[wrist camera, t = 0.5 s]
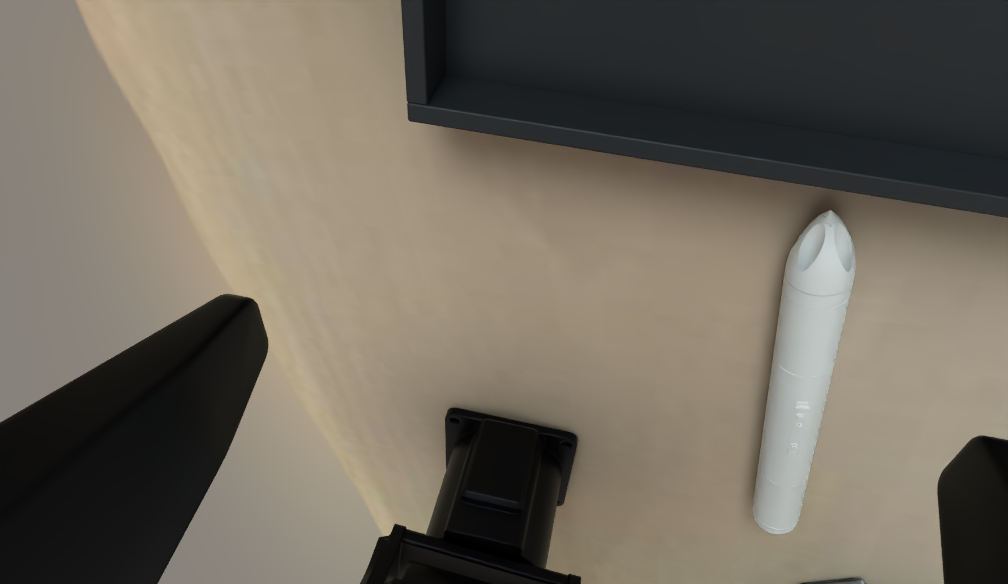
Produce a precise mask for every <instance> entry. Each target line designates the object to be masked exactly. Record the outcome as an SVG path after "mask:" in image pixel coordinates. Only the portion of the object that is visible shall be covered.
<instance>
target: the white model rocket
mask: <svg viewBox="0 0 1008 584" xmlns="http://www.w3.org/2000/svg"><path fill="white" fill-rule="evenodd" d="M855 269H856V257H855V249H854V244H853V241H852V238H851V236H850V234H849V232H848V230H847V228H846V227H845V225H844V223H843V222H842V220H841V219H840V217H839V216H838V215H837V214H835V213H834V212H833V211H831V210H829V211H827V212H825V213H822V214H821V215H819V216H817V217H816V218H815V219H814V220H813V221H812V222H811V223H810V224H809V225H808V226H807V227H806V229H805V230H804V231H803V232H802V233H801V235H800V236H799V237H798V239H797V240H796V242H795V244H794V245H793V247H792V249H791V250H790V253H789V256H788V259H787V262H786V267H785V273H784V281H783V286H782V287H783V289H782V296H781V303H780V310H779V318H778V325H777V332H776V339H775V347H774V354H773V361H772V369H771V376H770V383H769V390H768V398H767V405H766V412H765V420H764V427H763V434H762V442H761V449H760V456H759V463H758V471H757V478H756V485H755V493H754V500H753V514H754V519H755V521H756V523H757V524H758V525H759V526H760V527H761V528H762V529H763V530H765V531H767V532H769V533H772V534H777V535H782V534H786V533H789V532H790V531H792V530H793V529H794V528H795V526H796V524H797V522H798V520H799V518H800V512H801V508H802V504H803V499H804V495H805V491H806V486H807V482H808V477H809V473H810V469H811V464H812V460H813V456H814V451H815V447H816V443H817V438H818V434H819V430H820V425H821V421H822V417H823V412H824V408H825V403H826V399H827V395H828V390H829V386H830V382H831V377H832V373H833V369H834V364H835V360H836V356H837V351H838V347H839V343H840V338H841V334H842V329H843V325H844V321H845V316H846V312H847V308H848V303H849V299H850V296H851V290H852V286H853V282H854V277H855Z"/></svg>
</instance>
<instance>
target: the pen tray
mask: <svg viewBox="0 0 1008 584" xmlns="http://www.w3.org/2000/svg"><path fill="white" fill-rule="evenodd" d="M401 6H402V23H403V40H404V57H405V75H406V92H407V102H408V104H407V107H408V120H409V121H412V122H418V123H424V124H431V125H437V126H443V127H449V128H455V129H462V130H468V131H474V132H480V133H486V134H493V135H499V136H505V137H511V138H517V139H524V140H530V141H536V142H542V143H548V144H555V145H561V146H567V147H573V148H579V149H586V150H592V151H598V152H604V153H610V154H617V155H623V156H629V157H635V158H641V159H648V160H654V161H660V162H666V163H672V164H679V165H685V166H691V167H697V168H703V169H710V170H716V171H722V172H728V173H734V174H741V175H747V176H753V177H759V178H765V179H772V180H778V181H784V182H790V183H796V184H803V185H809V186H815V187H821V188H827V189H834V190H840V191H846V192H852V193H858V194H865V195H871V196H877V197H883V198H889V199H896V200H902V201H908V202H914V203H920V204H927V205H933V206H939V207H945V208H951V209H958V210H964V211H970V212H976V213H982V214H989V215H995V216H1001V217H1007V218H1008V0H401Z"/></svg>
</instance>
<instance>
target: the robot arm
mask: <svg viewBox="0 0 1008 584" xmlns="http://www.w3.org/2000/svg"><path fill="white" fill-rule="evenodd" d="M267 352H268V337H267V334H266V331H265V327H264V324H263V321H262V317H261V314H260V310H259V307H258V305H257V303H256V302H255V301H254V300H253V299H251V298H248V297H243V296H238V295H232V294H223V295H220V296H218V297H216V298H215V299H213V300H211V301H209V302H208V303H206V304H204V305H203V306H201V307H199V308H197V309H196V310H194V311H192V312H190V313H189V314H187V315H185V316H183V317H182V318H180V319H178V320H177V321H175V322H173V323H171V324H170V325H168V326H166V327H164V328H163V329H161V330H159V331H158V332H156V333H154V334H152V335H151V336H149V337H147V338H146V339H144V340H142V341H140V342H139V343H137V344H135V345H134V346H132V347H130V348H128V349H126V350H125V351H123V352H121V353H120V354H118V355H116V356H115V357H113V358H111V359H109V360H107V361H106V362H104V363H102V364H101V365H99V366H97V367H96V368H94V369H92V370H90V371H88V372H87V373H85V374H83V375H82V376H80V377H78V378H77V379H75V380H73V381H71V382H69V383H68V384H66V385H64V386H63V387H61V388H59V389H58V390H56V391H54V392H52V393H50V394H49V395H47V396H45V397H44V398H42V399H40V400H38V401H37V402H35V403H33V404H31V405H30V406H28V407H26V408H25V409H23V410H21V411H20V412H18V413H16V414H14V415H13V416H11V417H9V418H8V419H6V420H4V421H2V422H0V584H157V583H158V582H159V580H160V578H161V576H162V574H163V572H164V570H165V568H166V567H167V565H168V563H169V561H170V559H171V557H172V556H173V554H174V552H175V550H176V548H177V546H178V544H179V543H180V540H181V539H182V537H183V535H184V533H185V531H186V529H187V528H188V526H189V524H190V522H191V520H192V518H193V517H194V515H195V513H196V511H197V509H198V507H199V505H200V503H201V502H202V500H203V498H204V496H205V494H206V492H207V491H208V489H209V487H210V485H211V483H212V481H213V479H214V477H215V476H216V474H217V472H218V470H219V468H220V466H221V464H222V462H223V460H224V458H225V456H226V454H227V452H228V450H229V447H230V445H231V443H232V440H233V438H234V435H235V433H236V431H237V428H238V426H239V423H240V420H241V418H242V416H243V413H244V411H245V408H246V406H247V403H248V401H249V398H250V396H251V393H252V391H253V388H254V386H255V383H256V381H257V378H258V376H259V374H260V371H261V369H262V366H263V363H264V361H265V359H266V356H267ZM445 433H446V473H445V476H444V479H443V482H442V486H441V489H440V492H439V495H438V498H437V501H436V505H435V508H434V511H433V514H432V517H431V520H430V523H429V527H428V530H427V533H426V535H425V534H422V533H418V532H415V531H411V530H408V529H406V527H405V526H402V525H398V524H395V525H394V527H393V530H392V532H391V534H390V535H389V536H384V537H379V539H378V541H377V544H376V547H375V550H374V552H373V555H372V558H371V560H370V563H369V565H368V568H367V570H366V573H365V575H364V577H363V579H362V581H361V583H360V584H581V577H579V576H576V575H572V574H568V575H565V574H561V573H558V572H554V571H551V570H547V569H545V568H546V563H547V557H548V551H549V546H550V540H551V534H552V529H553V523H554V517H555V512H556V506H561V505H563V503H564V500H565V495H566V491H567V486H568V482H569V478H570V473H571V469H572V465H573V460H574V456H575V452H576V447H577V441H578V438H577V436H576V435H575V434H573V433H570V432H567V431H562V430H557V429H553V428H548V427H543V426H539V425H534V424H529V423H524V422H520V421H515V420H510V419H506V418H501V417H496V416H491V415H487V414H482V413H477V412H473V411H468V410H463V409H459V408H450V409H449V410H448V412H447V415H446V418H445ZM937 489H938V506H939V520H940V534H941V547H942V561H943V575H944V584H1008V440H1005V439H999V438H994V437H989V436H977V437H975V438H972V439H971V440H970V441H969V442H968V443H967V444H966V445H965V447H964V448H963V449H962V450H961V451H960V452H959V453H958V454H957V455H956V457H955V458H954V459H953V460H952V461H951V462H950V463H949V464H948V465H947V467H946V468H945V469H944V470H943V471H942V473H941V475H940V477H939V481H938V488H937Z"/></svg>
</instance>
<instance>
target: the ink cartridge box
mask: <svg viewBox="0 0 1008 584" xmlns="http://www.w3.org/2000/svg"><path fill="white" fill-rule="evenodd" d="M807 584H865V583H864V581H863V580H860V579H845V580H834V581H826V582H818V583H807Z"/></svg>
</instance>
